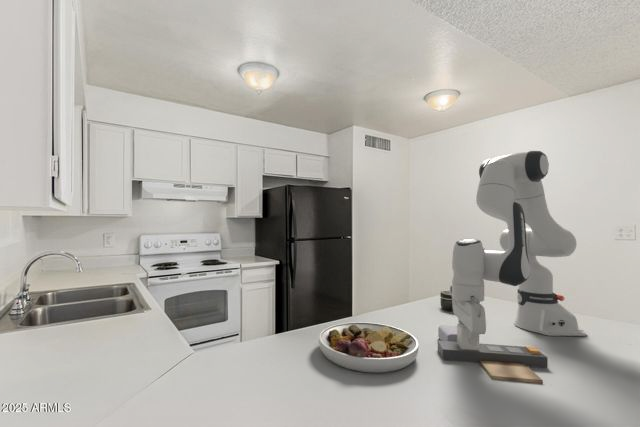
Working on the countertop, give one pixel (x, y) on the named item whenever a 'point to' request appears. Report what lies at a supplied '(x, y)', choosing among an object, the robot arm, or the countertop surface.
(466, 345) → the charger
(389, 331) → the bowl
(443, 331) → the charger
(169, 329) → the countertop surface
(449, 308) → the jar
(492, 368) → the cork mat
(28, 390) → the countertop surface
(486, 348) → the power strip
